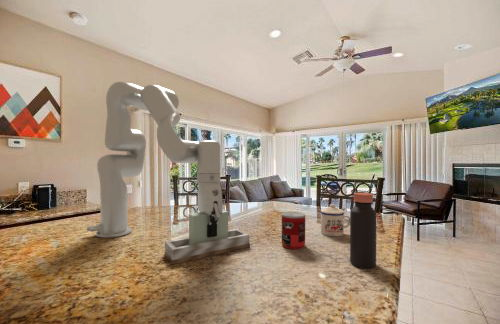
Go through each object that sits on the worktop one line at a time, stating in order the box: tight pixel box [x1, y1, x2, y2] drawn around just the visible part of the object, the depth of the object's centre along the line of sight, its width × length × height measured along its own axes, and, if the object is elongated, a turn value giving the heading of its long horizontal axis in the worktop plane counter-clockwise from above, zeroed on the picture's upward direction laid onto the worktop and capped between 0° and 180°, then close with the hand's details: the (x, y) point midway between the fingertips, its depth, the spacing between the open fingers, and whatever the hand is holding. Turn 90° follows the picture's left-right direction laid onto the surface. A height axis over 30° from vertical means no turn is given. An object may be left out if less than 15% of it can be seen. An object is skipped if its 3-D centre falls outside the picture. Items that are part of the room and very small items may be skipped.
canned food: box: [281, 211, 306, 250], centre depth 86 cm, size 8×8×11 cm
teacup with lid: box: [320, 203, 350, 237], centre depth 100 cm, size 12×9×12 cm
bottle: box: [349, 192, 377, 270], centre depth 71 cm, size 7×7×20 cm
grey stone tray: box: [164, 228, 251, 265], centre depth 82 cm, size 26×9×4 cm, turn 123°
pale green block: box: [188, 209, 229, 245], centre depth 82 cm, size 12×4×10 cm, turn 124°
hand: (208, 234), depth 82 cm, fingers open, 4 cm apart
